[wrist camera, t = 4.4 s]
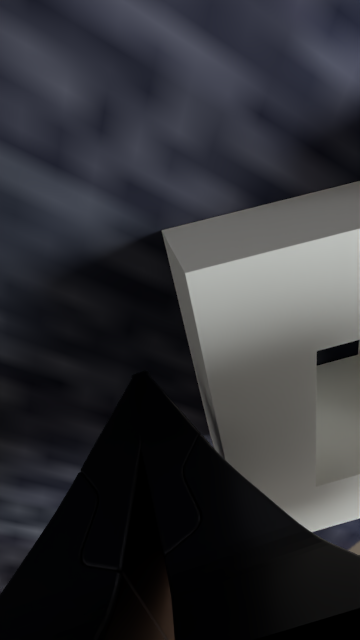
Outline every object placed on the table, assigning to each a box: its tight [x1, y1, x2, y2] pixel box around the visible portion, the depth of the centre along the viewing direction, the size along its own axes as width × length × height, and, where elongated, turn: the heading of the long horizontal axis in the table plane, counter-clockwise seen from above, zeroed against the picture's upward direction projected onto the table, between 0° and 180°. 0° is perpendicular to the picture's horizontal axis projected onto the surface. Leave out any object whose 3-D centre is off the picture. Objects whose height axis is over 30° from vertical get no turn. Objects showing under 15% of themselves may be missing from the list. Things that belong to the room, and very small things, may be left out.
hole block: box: [161, 181, 360, 532], centre depth 8 cm, size 8×8×4 cm
